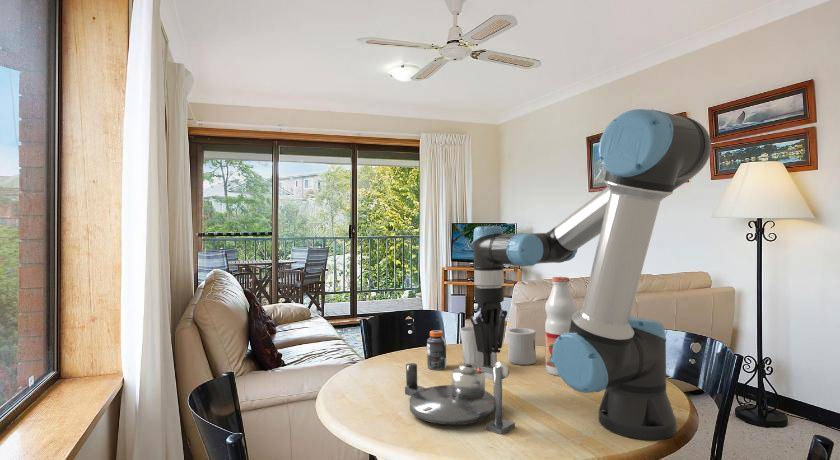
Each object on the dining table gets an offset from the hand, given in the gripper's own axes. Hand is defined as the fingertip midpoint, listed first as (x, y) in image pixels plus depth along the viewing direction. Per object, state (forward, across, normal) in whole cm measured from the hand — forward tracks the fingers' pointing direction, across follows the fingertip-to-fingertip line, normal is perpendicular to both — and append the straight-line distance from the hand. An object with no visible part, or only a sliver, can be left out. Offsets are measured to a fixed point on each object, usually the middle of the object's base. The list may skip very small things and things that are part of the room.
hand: (490, 378), depth 121 cm
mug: (+5, -33, -12) cm, 35 cm away
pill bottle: (+5, -9, -27) cm, 29 cm away
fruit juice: (+5, -30, +4) cm, 31 cm away
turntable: (+3, +15, -2) cm, 16 cm away
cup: (+5, -16, -18) cm, 24 cm away
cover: (+1, +9, 0) cm, 9 cm away
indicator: (+4, +15, +12) cm, 19 cm away
